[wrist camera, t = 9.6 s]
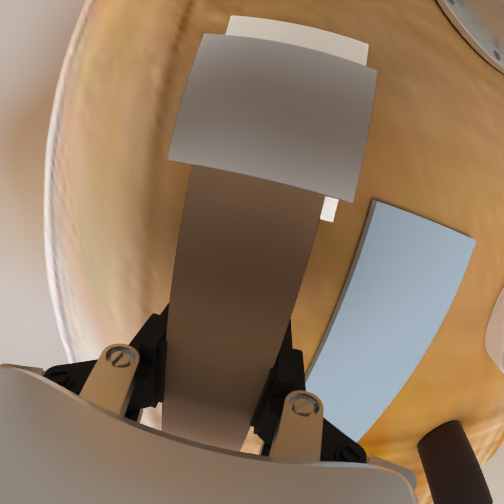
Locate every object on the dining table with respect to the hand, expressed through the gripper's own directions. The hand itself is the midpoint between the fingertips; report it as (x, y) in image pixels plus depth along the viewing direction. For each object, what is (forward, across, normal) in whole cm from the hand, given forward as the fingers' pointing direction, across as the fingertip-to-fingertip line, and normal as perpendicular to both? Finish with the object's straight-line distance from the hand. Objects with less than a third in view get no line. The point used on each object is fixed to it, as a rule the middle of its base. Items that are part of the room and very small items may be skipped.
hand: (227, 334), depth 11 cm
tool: (+1, 0, 0) cm, 1 cm away
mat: (+6, -11, +6) cm, 14 cm away
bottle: (+6, -30, +17) cm, 35 cm away
